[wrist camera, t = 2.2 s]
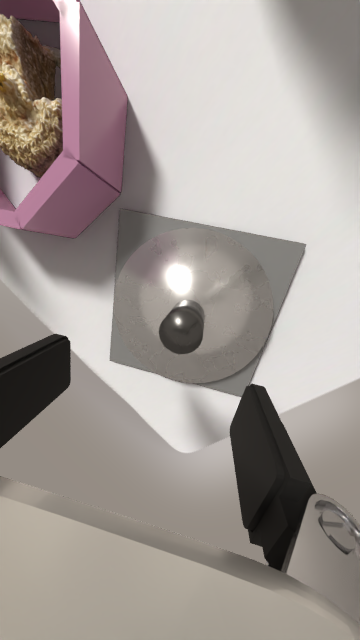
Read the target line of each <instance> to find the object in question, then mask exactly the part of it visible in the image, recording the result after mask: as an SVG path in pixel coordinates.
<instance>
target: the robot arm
mask: <svg viewBox="0 0 360 640" xmlns="http://www.w3.org/2000/svg"><path fill="white" fill-rule="evenodd" d="M69 385H70V341H69V340H68V338H67V337H66V336H63V335H59V334H53V335H51V336H48V337H46V338H44V339H42V340H40V341H37V342H35V343H33V344H31V345H29V346H27V347H24V348H22V349H20V350H18V351H15V352H13V353H11V354H9V355H7V356H5V357H2V358H0V448H1V447H2V446H3V445H5V444H6V443H7V442H8V441H9V440H10V439H11V438H12V437H13V436H14V435H16V434H17V433H18V432H19V431H20V430H21V429H22V428H24V427H25V426H26V425H27V424H28V423H29V422H30V421H31V420H32V419H34V418H35V417H36V416H37V415H38V414H39V413H40V412H41V411H42V410H44V409H45V408H46V407H47V406H48V405H49V404H50V403H51V402H53V400H55V399H56V398H57V397H58V396H59V395H60V394H61V393H63V392H64V391H65V390H66V389H67V388H68V386H69ZM230 438H231V445H232V451H233V458H234V465H235V472H236V478H237V485H238V493H239V500H240V507H241V514H242V520H243V525H244V527H245V528H246V529H248V532H249V538H250V543H252V544H255V545H259V546H262V547H263V552H264V557H265V559H266V561H267V562H266V564H265V565H264V564H262V563H259V562H257V561H255V560H252V559H249V558H246V557H244V556H241V555H238V554H235V553H232V552H229V551H227V550H224V549H221V548H218V547H215V546H212V545H210V544H207V543H204V542H201V541H198V540H195V539H192V538H189V537H186V536H183V535H180V534H177V533H174V532H171V531H168V530H165V529H162V528H159V527H156V526H153V525H150V524H147V523H144V522H141V521H138V520H135V519H132V518H129V517H125V516H122V515H119V514H116V513H113V512H110V511H107V510H104V509H101V508H98V507H95V506H92V505H89V504H86V503H82V502H79V501H76V500H73V499H70V498H67V497H64V496H61V495H58V494H54V493H51V492H48V491H45V490H42V489H39V488H36V487H33V486H29V485H27V484H24V483H20V482H17V481H14V480H11V479H8V478H4V477H1V476H0V640H360V524H359V523H358V522H357V521H356V519H355V518H354V517H353V516H352V515H351V514H350V513H349V512H348V511H347V510H346V509H345V508H344V507H343V506H342V505H340V504H339V503H338V502H336V501H335V500H334V499H332V498H330V497H328V496H326V495H323V494H317V493H316V491H315V489H314V487H313V485H312V483H311V481H310V479H309V477H308V475H307V473H306V470H305V469H304V466H303V464H302V462H301V460H300V458H299V456H298V454H297V452H296V450H295V448H294V446H293V444H292V442H291V440H290V437H289V435H288V433H287V431H286V429H285V427H284V425H283V424H282V422H281V420H280V418H279V416H278V414H277V412H276V410H275V408H274V406H273V404H272V401H271V399H270V397H269V395H268V393H267V391H266V389H265V387H263V386H259V385H255V384H251V385H250V386H246V388H245V390H244V393H243V395H242V398H241V400H240V403H239V405H238V408H237V411H236V413H235V416H234V418H233V421H232V423H231V426H230Z"/></svg>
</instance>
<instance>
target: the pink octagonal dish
mask: <svg viewBox="0 0 360 640" xmlns="http://www.w3.org/2000/svg"><path fill="white" fill-rule="evenodd" d="M0 14H3V15H4V16H5V17H6V18H10V17H11V16H14V17H15V18H17V19H27V20H38V21H48V22H59V23H60V49H61V87H62V125H63V151H62V152H61V154H60V155H59V156H58V157H57V159H56V160H55V161H54V162H53V164H52V165H51V166H50V168H49V169H48V170H47V171H46V173H45V174H44V175H43V176H42V178H41V179H40V180H39V181H38V183H37V184H36V185H35V186H34V188H33V189H32V190H31V191H30V193H29V194H28V195H27V196H26V198H25V199H24V200H23V201H22V203H21V204H20V205H19V206H18V208H17V209H15V207H14V206H13V205H12V204H11V202H10V201H9V200H8V198H7V197H6V196H5V194H4V193H3V192H2V191H1V189H0V225H2V226H7V227H12V228H16V229H21V230H27V231H33V232H39V233H45V234H51V235H57V236H63V237H69V238H76V237H77V236H78V235H79V234H80V233H81V232H82V231H83V230H84V229H86V228H87V227H88V226H89V225H90V224H91V223H92V222H93V221H94V220H95V219H96V218H97V217H98V216H99V215H100V214H101V213H102V212H103V211H104V210H105V209H106V208H107V207H108V206H109V205H110V204H111V203H112V202H113V201H114V200H115V199H116V198H117V197H118V196H119V195H120V193H119V192H121V188H122V173H123V159H124V144H125V129H126V115H127V100H128V98H127V94H126V92H125V90H124V88H123V86H122V84H121V82H120V80H119V78H118V76H117V74H116V72H115V70H114V68H113V66H112V64H111V62H110V60H109V58H108V56H107V54H106V52H105V50H104V48H103V46H102V44H101V42H100V40H99V38H98V36H97V34H96V32H95V30H94V28H93V26H92V24H91V22H90V20H89V18H88V16H87V14H86V12H85V10H84V8H83V6H82V4H81V2H80V0H0Z"/></svg>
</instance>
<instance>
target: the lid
mask: <svg viewBox="0 0 360 640" xmlns="http://www.w3.org/2000/svg"><path fill="white" fill-rule="evenodd" d="M273 306H274V303H273V295H272V290H271V287H270V283H269V280H268V278H267V276H266V274H265V271H264V270H263V268H262V267H261V265H260V263H259V262H258V260H257V259H256V258H255V257H254V256H253V255H252V254H251V252H250V251H248V250H247V249H246V248H245V247H244V246H243V245H241V244H240V243H238V242H237V241H235V240H234V239H232V238H230V237H228V236H226V235H224V234H221V233H219V232H215V231H211V230H208V229H200V228H182V229H177V230H171V231H168V232H165V233H162V234H160V235H158V236H156V237H154V238H152V239H150V240H148V241H147V242H146V243H144V244H143V245H141V246H140V247H139V248H138V249H137V250H136V251H135V252H134V253H133V254H132V255H131V257H130V258H129V259H128V260H127V262H126V263H125V265H124V267H123V268H122V270H121V272H120V275H119V277H118V280H117V283H116V287H115V293H114V315H115V320H116V324H117V328H118V330H119V333H120V335H121V337H122V339H123V341H124V343H125V345H126V346H127V348H128V349H129V350H130V352H131V353H132V354H133V355H134V356H135V358H136V359H138V360H139V361H140V362H141V363H142V364H143V365H144V366H146V367H147V368H148V369H150V370H152V371H153V372H155V373H157V374H159V375H161V376H163V377H165V378H168V379H171V380H175V381H179V382H186V383H205V382H212V381H216V380H220V379H223V378H225V377H228V376H230V375H232V374H234V373H236V372H237V371H239V370H240V369H242V368H243V367H245V366H246V365H247V364H248V363H249V362H250V361H252V359H253V358H254V357H255V356H256V355H257V354H258V352H259V351H260V349H261V348H262V347H263V345H264V343H265V341H266V339H267V337H268V335H269V331H270V328H271V325H272V319H273Z"/></svg>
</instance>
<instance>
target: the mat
mask: <svg viewBox="0 0 360 640" xmlns="http://www.w3.org/2000/svg"><path fill="white" fill-rule="evenodd" d="M182 228H200V229H208V230H211V231H215V232H219V233H221V234H224V235H226V236H228V237H230V238H232V239H234V240H235V241H237V242H238V243H240V244H241V245H243V246H244V247H245V248H246V249H247V250H248V251H250V252H251V254H252V255H253V256H254V257H255V258H256V259H257V260H258V262H259V263H260V265H261V267H262V268H263V270H264V271H265V274H266V276H267V278H268V280H269V283H270V287H271V290H272V295H273V303H274V306H273V319H272V325H271V328H270V331H269V334H270V332H271V329H272V327H273V325H274V322H275V320H276V317H277V315H278V312H279V310H280V308H281V305H282V303H283V300H284V298H285V295H286V293H287V290H288V288H289V286H290V283H291V281H292V278H293V276H294V273H295V271H296V268H297V266H298V264H299V261H300V259H301V256H302V254H303V251H304V249H305V247H306V244H303V243H298V242H293V241H288V240H282V239H277V238H272V237H267V236H262V235H256V234H251V233H246V232H241V231H235V230H230V229H225V228H220V227H215V226H209V225H204V224H199V223H194V222H188V221H183V220H178V219H173V218H168V217H162V216H157V215H152V214H147V213H141V212H136V211H131V210H126V209H120V215H119V230H118V245H117V260H116V275H115V287H116V283H117V280H118V277H119V275H120V272H121V270H122V268H123V267H124V265H125V263H126V262H127V260H128V259H129V258H130V257H131V255H132V254H133V253H134V252H135V251H136V250H137V249H138V248H139V247H140V246H141V245H143V244H144V243H146V242H147V241H148V240H150V239H152V238H154V237H156V236H158V235H160V234H162V233H165V232H168V231H171V230H177V229H182ZM114 293H115V289H114ZM268 337H269V335H268ZM268 337H267V339H268ZM267 339H266V341H265V343H264V345H263V347H262V348H261V349H260V351H259V352H258V354H257V355H256V356H255V357H254V358H253V359H252V361H250V362H249V363H248V364H247V365H246V366H245V367H243V368H242V369H240V370H239V371H237V372H236V373H234V374H232V375H230V376H228V377H225V378H223V379H220V380H216V381H212V382H205V383H193V384H197V385H200V386H204V387H207V388H211V389H215V390H218V391H222V392H226V393H229V394H233V395H237V396H240V397H242V395H243V393H244V390H245V388H246V386H249V383H250V381H251V378H252V376H253V373H254V371H255V369H256V366H257V364H258V361H259V359H260V356H261V354H262V351H263V349H264V347H265V344H266V342H267ZM110 361H113V362H116V363H120V364H124V365H127V366H131V367H135V368H138V369H142V370H146V371H149V372H153V371H152V370H150V369H148V368H147V367H146V366H144V365H143V364H142V363H141V362H140V361H139V360H138V359H136V358H135V356H134V355H133V354H132V353H131V352H130V350H129V349H128V348H127V346H126V345H125V343H124V341H123V339H122V337H121V335H120V333H119V330H118V328H117V324H116V320H115V315H114V304H113V319H112V334H111V348H110ZM153 373H155V372H153ZM156 374H157V373H156Z"/></svg>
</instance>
